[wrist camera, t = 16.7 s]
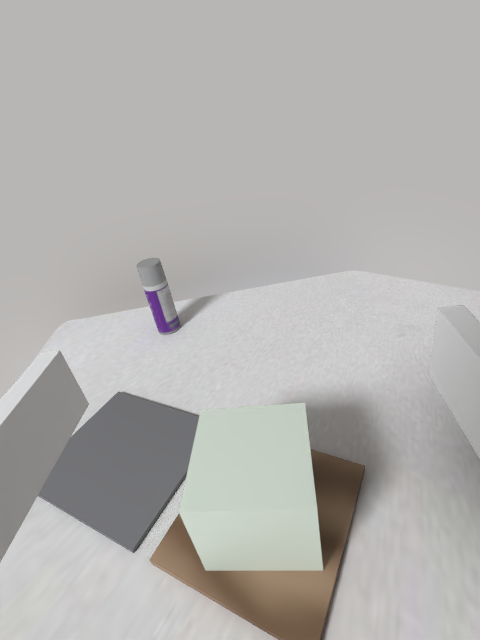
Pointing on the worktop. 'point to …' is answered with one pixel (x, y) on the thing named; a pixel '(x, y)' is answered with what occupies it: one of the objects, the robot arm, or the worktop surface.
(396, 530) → the worktop surface
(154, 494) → the mat
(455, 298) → the worktop surface
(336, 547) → the board
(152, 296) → the container
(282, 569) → the pale mint green cube
